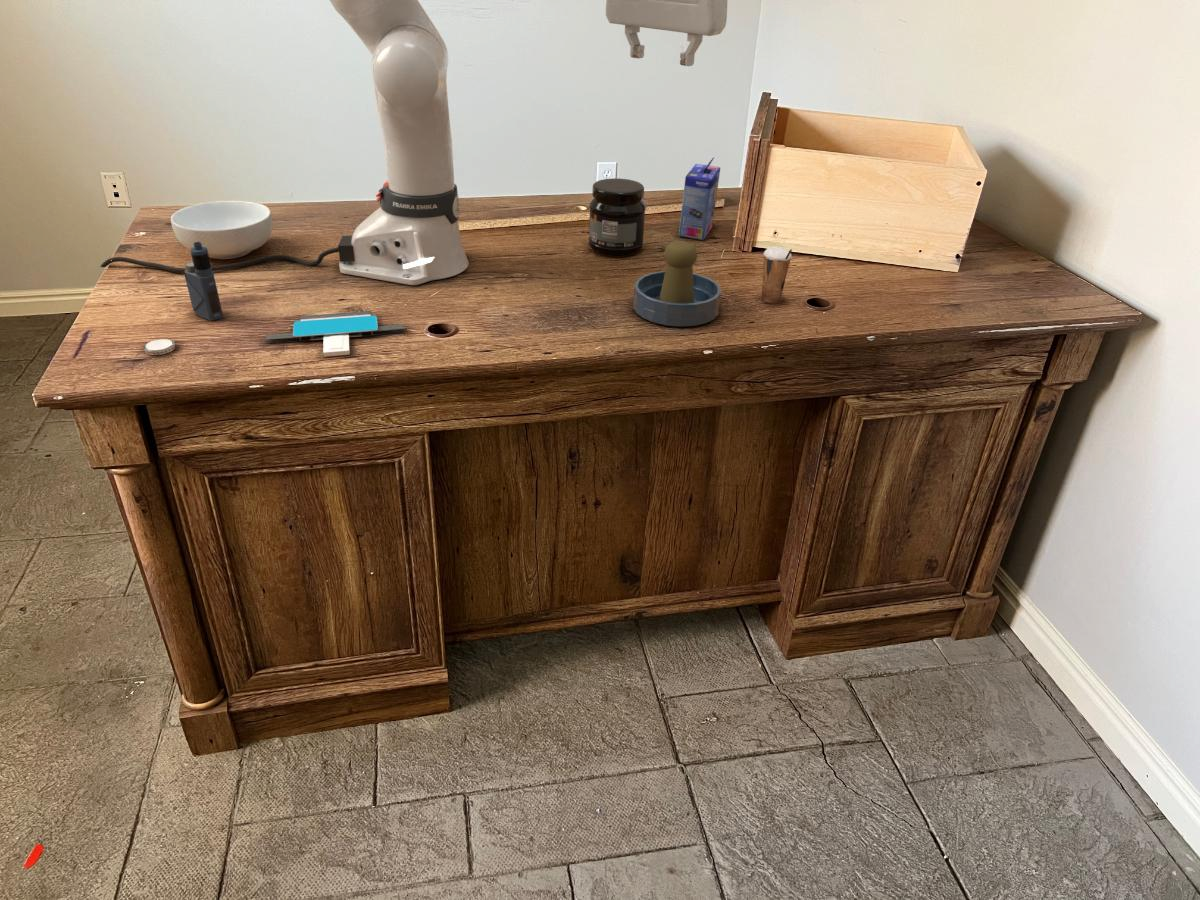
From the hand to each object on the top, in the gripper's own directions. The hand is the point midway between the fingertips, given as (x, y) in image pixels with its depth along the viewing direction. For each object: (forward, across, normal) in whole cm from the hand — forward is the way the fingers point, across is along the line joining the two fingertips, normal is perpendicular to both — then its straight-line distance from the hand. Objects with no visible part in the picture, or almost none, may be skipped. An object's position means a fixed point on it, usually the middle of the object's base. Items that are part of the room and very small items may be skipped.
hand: (661, 61), depth 133 cm
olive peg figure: (+35, +12, -9) cm, 38 cm away
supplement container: (+36, -13, +7) cm, 38 cm away
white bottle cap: (+34, -36, -71) cm, 87 cm away
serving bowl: (+35, +12, -9) cm, 38 cm away
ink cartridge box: (+36, -7, +26) cm, 45 cm away
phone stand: (+35, -20, -52) cm, 66 cm away
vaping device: (+34, -41, -60) cm, 81 cm away
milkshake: (+36, +22, +6) cm, 42 cm away
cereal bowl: (+34, -63, -43) cm, 84 cm away
